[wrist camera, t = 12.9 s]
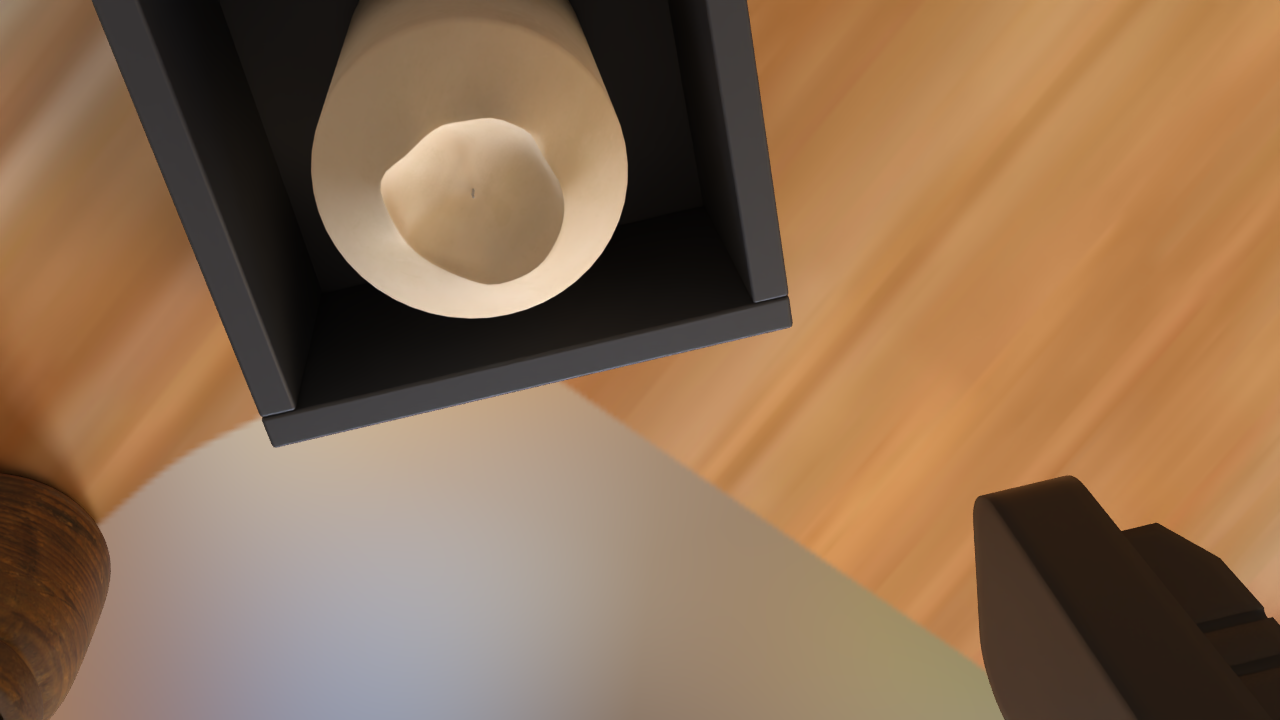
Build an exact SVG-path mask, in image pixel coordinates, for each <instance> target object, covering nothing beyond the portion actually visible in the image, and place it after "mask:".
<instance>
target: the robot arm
mask: <svg viewBox="0 0 1280 720" xmlns="http://www.w3.org/2000/svg"><path fill="white" fill-rule="evenodd" d="M973 526H974V543H975V561H976V578H977V596H978V614H979V631H980V643H981V649H982V655H983V660H984V664H985V668H986V672H987V675H988V679H989V682H990V685H991V688H992V691H993V694H994V696H995V699H996V702H997V704H998V706H999V709H1000V711H1001V713H1002V715H1003V717H1004V719H1005V720H1280V625H1279V624H1278V623H1277V621H1276V620H1275V619H1274V618H1273V617H1272V618H1267V616H1266V614H1265V612H1264V607H1263V606H1262V605H1261V604H1260V602H1259V601H1258V600H1257V599H1256V598H1255V597H1254V596H1253V595H1252V593H1251V592H1250V591H1249V590H1248V589H1247V588H1246V587H1245V586H1244V584H1243V583H1242V582H1241V581H1240V580H1239V579H1238V578H1237V577H1236V576H1235V574H1234V573H1233V572H1232V571H1231V570H1230V569H1229V568H1228V567H1227V565H1226V564H1225V563H1224V562H1223V561H1222V560H1221V559H1220V558H1219V557H1217V556H1215V555H1213V554H1212V553H1210V552H1208V551H1206V550H1205V549H1203V548H1201V547H1199V546H1197V545H1196V544H1194V543H1192V542H1190V541H1189V540H1187V539H1185V538H1183V537H1181V536H1180V535H1178V534H1176V533H1174V532H1173V531H1171V530H1169V529H1167V528H1165V527H1164V526H1162V525H1160V524H1158V523H1153V524H1149V525H1145V526H1141V527H1137V528H1132V529H1128V530H1124V531H1121V530H1120V529H1119V528H1118V527H1117V525H1116V524H1115V523H1114V522H1113V520H1112V519H1111V518H1110V517H1109V515H1108V514H1107V513H1106V512H1105V510H1104V509H1103V508H1102V507H1101V506H1100V504H1099V503H1098V502H1097V501H1096V499H1095V498H1094V497H1093V496H1092V494H1091V493H1090V492H1089V491H1088V489H1087V488H1086V487H1085V486H1084V485H1083V484H1082V483H1081V481H1079V480H1078V479H1077V478H1075V477H1073V476H1071V475H1069V476H1062V477H1058V478H1054V479H1050V480H1045V481H1041V482H1037V483H1033V484H1028V485H1024V486H1020V487H1016V488H1011V489H1007V490H1003V491H999V492H995V493H990V494H986V495H982V496H979V497H978V498H977V499H976V501H975V504H974V510H973Z"/></svg>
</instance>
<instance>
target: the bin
mask: <svg viewBox="0 0 1280 720" xmlns="http://www.w3.org/2000/svg"><path fill="white" fill-rule="evenodd" d="M92 2H93V5H94V7H95V10H96V12H97V15H98V17H99V20H100V22H101V25H102V27H103V30H104V32H105V34H106V37H107V39H108V42H109V44H110V47H111V49H112V52H113V54H114V57H115V59H116V62H117V64H118V67H119V69H120V71H121V74H122V76H123V79H124V81H125V84H126V86H127V89H128V91H129V94H130V96H131V99H132V101H133V104H134V106H135V108H136V111H137V113H138V116H139V118H140V121H141V123H142V126H143V128H144V131H145V133H146V136H147V138H148V141H149V143H150V145H151V148H152V150H153V153H154V155H155V158H156V160H157V163H158V165H159V168H160V170H161V173H162V175H163V178H164V180H165V182H166V185H167V187H168V190H169V192H170V195H171V197H172V200H173V202H174V205H175V207H176V210H177V212H178V215H179V217H180V219H181V222H182V224H183V227H184V229H185V232H186V234H187V237H188V239H189V242H190V244H191V247H192V249H193V252H194V254H195V256H196V259H197V261H198V264H199V266H200V269H201V271H202V274H203V276H204V279H205V281H206V284H207V286H208V289H209V291H210V293H211V296H212V298H213V301H214V303H215V306H216V308H217V311H218V313H219V316H220V318H221V321H222V323H223V326H224V328H225V330H226V333H227V335H228V338H229V340H230V343H231V345H232V348H233V350H234V353H235V355H236V358H237V360H238V362H239V365H240V367H241V370H242V372H243V375H244V377H245V380H246V382H247V385H248V387H249V390H250V392H251V395H252V397H253V399H254V402H255V404H256V407H257V409H258V412H259V414H260V415H261V417H262V422H263V424H264V427H265V429H266V431H267V434H268V436H269V439H270V441H271V444H272V445H273V447H280V446H285V445H289V444H293V443H298V442H302V441H306V440H311V439H315V438H319V437H323V436H328V435H332V434H336V433H340V432H345V431H349V430H353V429H358V428H362V427H366V426H370V425H375V424H379V423H383V422H388V421H392V420H396V419H401V418H405V417H409V416H413V415H417V414H422V413H426V412H430V411H435V410H439V409H443V408H448V407H452V406H456V405H461V404H465V403H469V402H473V401H478V400H482V399H486V398H490V397H495V396H499V395H503V394H508V393H511V392H516V391H520V390H525V389H529V388H533V387H538V386H541V385H546V384H550V383H555V382H559V381H563V380H568V379H572V378H576V377H580V376H585V375H589V374H593V373H597V372H602V371H606V370H610V369H615V368H619V367H623V366H627V365H632V364H636V363H640V362H645V361H649V360H653V359H657V358H662V357H666V356H670V355H675V354H679V353H683V352H687V351H692V350H696V349H700V348H704V347H709V346H713V345H717V344H722V343H726V342H730V341H734V340H739V339H743V338H747V337H752V336H756V335H760V334H764V333H769V332H773V331H777V330H782V329H786V328H790V327H792V323H793V322H792V315H791V308H790V301H789V297H788V286H787V279H786V272H785V265H784V258H783V251H782V244H781V237H780V230H779V223H778V216H777V209H776V202H775V195H774V188H773V181H772V174H771V167H770V159H769V152H768V145H767V138H766V131H765V124H764V117H763V110H762V103H761V96H760V89H759V82H758V75H757V68H756V61H755V54H754V47H753V40H752V33H751V26H750V19H749V12H748V5H747V0H569V2H570V4H571V6H572V7H573V9H574V11H575V13H576V16H577V18H578V21H579V23H580V25H581V28H582V30H583V33H584V35H585V38H586V40H587V43H588V45H589V48H590V50H591V53H592V55H593V58H594V60H595V63H596V65H597V68H598V70H599V73H600V75H601V78H602V80H603V83H604V85H605V88H606V90H607V93H608V95H609V98H610V100H611V103H612V105H613V108H614V110H615V113H616V115H617V118H618V120H619V123H620V126H621V130H622V133H623V137H624V141H625V145H626V154H627V162H628V180H627V189H626V196H625V202H624V206H623V209H622V212H621V216H620V219H619V222H618V224H617V226H616V229H615V231H614V233H613V235H612V237H611V239H610V241H609V242H608V244H607V246H606V247H605V249H604V250H603V252H602V254H601V255H600V256H599V257H598V259H597V260H596V261H595V262H594V264H593V265H592V266H591V267H590V268H589V269H588V270H587V271H586V272H585V273H584V274H583V275H582V276H581V277H580V278H579V279H578V280H577V281H576V282H574V283H573V284H572V285H570V286H569V287H568V288H566V289H565V290H564V291H562V292H561V293H559V294H557V295H556V296H554V297H552V298H550V299H549V300H547V301H545V302H543V303H541V304H538V305H536V306H533V307H531V308H529V309H526V310H522V311H519V312H515V313H512V314H508V315H502V316H496V317H490V318H457V317H447V316H442V315H437V314H432V313H428V312H425V311H422V310H419V309H416V308H413V307H410V306H408V305H406V304H404V303H401V302H399V301H397V300H395V299H393V298H391V297H390V296H388V295H386V294H385V293H383V292H381V291H380V290H378V289H377V288H375V287H374V286H373V285H372V284H370V283H369V282H368V281H367V280H365V279H364V278H363V277H362V276H361V275H360V274H359V273H358V272H357V271H356V270H355V269H354V268H353V267H352V266H351V265H350V264H349V263H348V262H347V261H346V260H345V258H344V257H343V256H342V254H341V253H340V252H339V250H338V249H337V248H336V246H335V245H334V243H333V241H332V239H331V238H330V236H329V234H328V232H327V231H326V229H325V226H324V224H323V221H322V219H321V216H320V214H319V212H318V208H317V204H316V200H315V196H314V192H313V184H312V175H311V160H312V148H313V142H314V136H315V131H316V128H317V124H318V121H319V118H320V115H321V112H322V109H323V106H324V103H325V99H326V96H327V93H328V90H329V87H330V84H331V81H332V78H333V75H334V71H335V68H336V65H337V62H338V59H339V56H340V53H341V50H342V47H343V43H344V40H345V37H346V34H347V31H348V28H349V25H350V22H351V19H352V16H353V13H354V11H355V9H356V7H357V5H358V2H359V0H92Z"/></svg>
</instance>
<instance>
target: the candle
mask: <svg viewBox="0 0 1280 720" xmlns="http://www.w3.org/2000/svg"><path fill="white" fill-rule="evenodd" d="M311 175H312V184H313V192H314V196H315V200H316V204H317V208H318V212H319V214H320V216H321V219H322V221H323V224H324V226H325V229H326V231H327V232H328V234H329V236H330V238H331V239H332V241H333V243H334V245H335V246H336V248H337V249H338V250H339V252H340V253H341V254H342V256H343V257H344V258H345V260H346V261H347V262H348V263H349V264H350V265H351V266H352V267H353V268H354V269H355V270H356V271H357V272H358V273H359V274H360V275H361V276H362V277H363V278H364V279H365V280H367V281H368V282H369V283H370V284H372V285H373V286H374V287H375V288H377V289H378V290H380V291H381V292H383V293H385V294H386V295H388V296H390V297H391V298H393V299H395V300H397V301H399V302H401V303H404V304H406V305H408V306H410V307H413V308H416V309H419V310H422V311H425V312H428V313H432V314H437V315H442V316H447V317H457V318H490V317H496V316H502V315H508V314H512V313H515V312H519V311H522V310H526V309H529V308H531V307H533V306H536V305H538V304H541V303H543V302H545V301H547V300H549V299H550V298H552V297H554V296H556V295H557V294H559V293H561V292H562V291H564V290H565V289H566V288H568V287H569V286H570V285H572V284H573V283H574V282H576V281H577V280H578V279H579V278H580V277H581V276H582V275H583V274H584V273H585V272H586V271H587V270H588V269H589V268H590V267H591V266H592V265H593V264H594V262H595V261H596V260H597V259H598V257H599V256H600V255H601V254H602V252H603V250H604V249H605V247H606V246H607V244H608V242H609V241H610V239H611V237H612V235H613V233H614V231H615V229H616V226H617V224H618V222H619V219H620V216H621V212H622V209H623V206H624V202H625V196H626V189H627V180H628V162H627V154H626V145H625V141H624V137H623V133H622V130H621V126H620V123H619V120H618V118H617V115H616V113H615V110H614V108H613V105H612V103H611V100H610V98H609V95H608V93H607V90H606V88H605V85H604V83H603V80H602V78H601V75H600V73H599V70H598V68H597V65H596V63H595V60H594V58H593V55H592V53H591V50H590V48H589V45H588V43H587V40H586V38H585V35H584V33H583V30H582V28H581V25H580V23H579V21H578V18H577V16H576V13H575V11H574V9H573V7H572V6H571V4H570V2H569V0H359V2H358V5H357V7H356V9H355V11H354V13H353V16H352V19H351V22H350V25H349V28H348V31H347V34H346V37H345V40H344V43H343V47H342V50H341V53H340V56H339V59H338V62H337V65H336V68H335V71H334V75H333V78H332V81H331V84H330V87H329V90H328V93H327V96H326V99H325V103H324V106H323V109H322V112H321V115H320V118H319V121H318V124H317V128H316V131H315V136H314V142H313V148H312V160H311Z"/></svg>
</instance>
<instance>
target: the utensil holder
mask: <svg viewBox="0 0 1280 720" xmlns="http://www.w3.org/2000/svg"><path fill="white" fill-rule="evenodd" d="M110 572H111V570H110V556H109V552H108V548H107V545H106V542H105V539H104V537H103V535H102V533H101V531H100V529H99V528H98V526H97V525H96V523H95V522H94V521H93V519H92V518H91V517H90V516H89V514H88V513H87V512H86V511H85V510H84V509H83V508H82V507H80V506H79V505H78V504H77V503H76V502H74V501H73V500H72V499H70V498H69V497H67V496H66V495H64V494H63V493H61V492H59V491H58V490H56V489H54V488H52V487H50V486H47V485H45V484H43V483H40V482H37V481H34V480H31V479H28V478H24V477H19V476H14V475H8V474H0V720H49V719H50V718H51V717H52V716H53V715H54V713H55V712H56V711H57V709H58V708H59V706H60V705H61V704H62V702H63V701H64V699H65V697H66V696H67V694H68V692H69V690H70V688H71V686H72V684H73V682H74V680H75V678H76V676H77V673H78V671H79V669H80V666H81V664H82V661H83V659H84V657H85V654H86V652H87V649H88V646H89V644H90V641H91V639H92V636H93V634H94V631H95V628H96V625H97V623H98V620H99V617H100V615H101V612H102V609H103V606H104V603H105V600H106V596H107V593H108V587H109V582H110Z"/></svg>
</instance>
